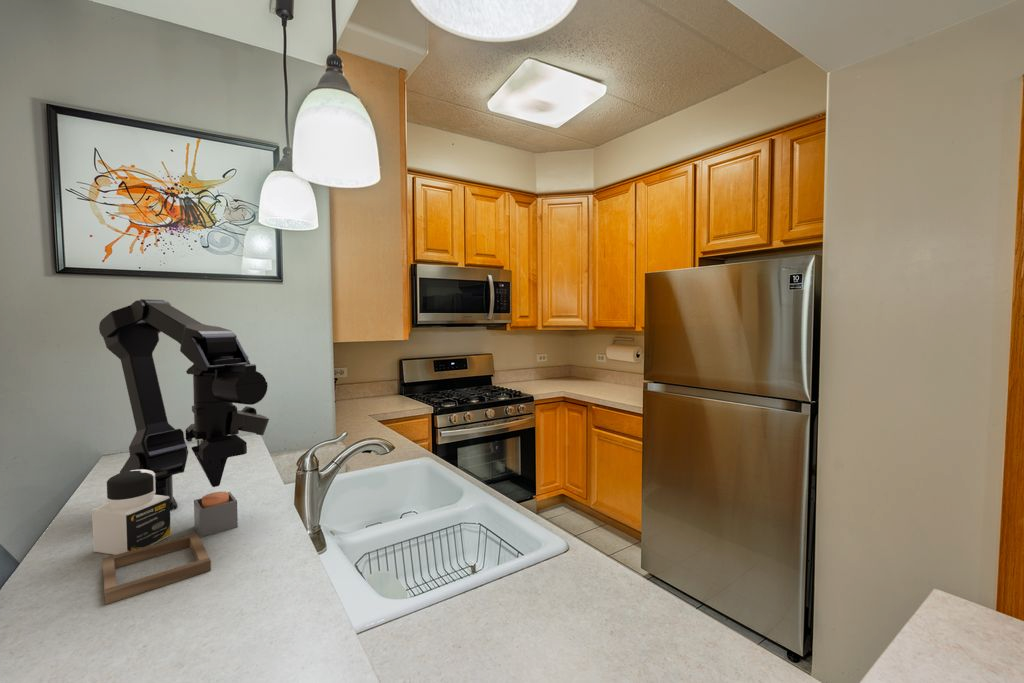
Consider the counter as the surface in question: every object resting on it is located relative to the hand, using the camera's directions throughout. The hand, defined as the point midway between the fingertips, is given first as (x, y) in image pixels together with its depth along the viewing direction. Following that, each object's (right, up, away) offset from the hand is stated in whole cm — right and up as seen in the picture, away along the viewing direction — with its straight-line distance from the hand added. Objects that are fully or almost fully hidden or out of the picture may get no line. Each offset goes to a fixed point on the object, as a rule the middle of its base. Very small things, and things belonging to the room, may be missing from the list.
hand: (215, 486), depth 79 cm
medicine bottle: (-10, -8, -6) cm, 14 cm away
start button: (0, -4, 0) cm, 4 cm away
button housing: (0, -8, 0) cm, 8 cm away
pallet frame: (0, -8, -13) cm, 15 cm away
